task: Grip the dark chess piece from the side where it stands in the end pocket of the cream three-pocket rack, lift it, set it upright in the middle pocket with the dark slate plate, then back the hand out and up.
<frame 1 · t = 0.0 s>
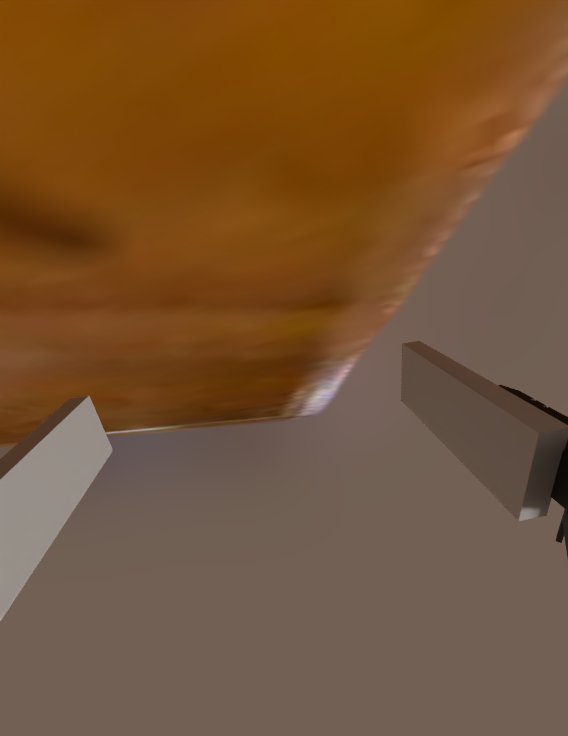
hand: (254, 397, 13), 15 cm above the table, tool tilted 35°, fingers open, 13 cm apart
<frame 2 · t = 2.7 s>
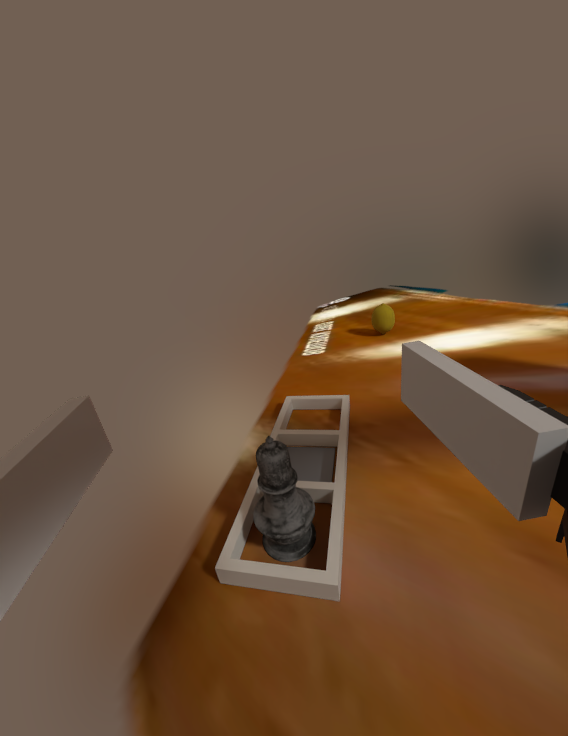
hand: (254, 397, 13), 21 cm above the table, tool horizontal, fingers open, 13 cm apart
lemon: (383, 335, 78), on the table
pocket rack: (304, 467, 38), on the table
dark chess piece: (289, 536, 30), resting in pocket rack
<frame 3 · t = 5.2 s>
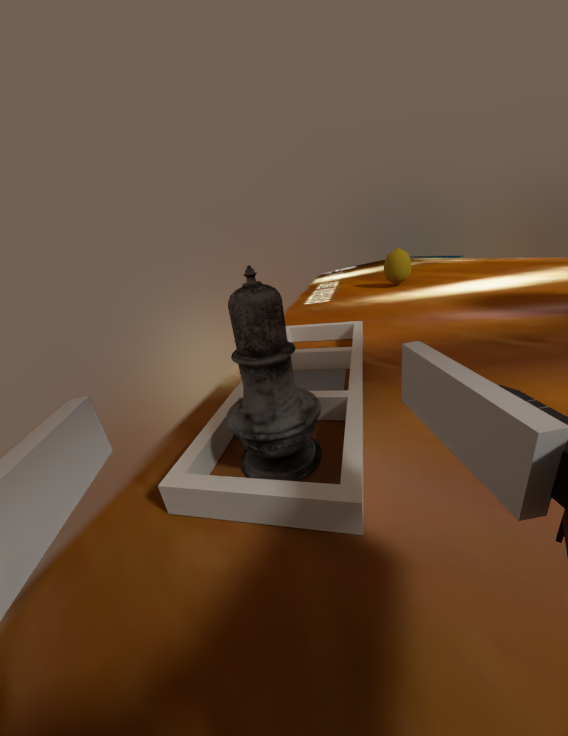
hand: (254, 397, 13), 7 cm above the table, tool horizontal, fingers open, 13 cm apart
lemon: (397, 286, 68), on the table
pocket rack: (305, 388, 28), on the table
dark chess piece: (281, 458, 20), resting in pocket rack
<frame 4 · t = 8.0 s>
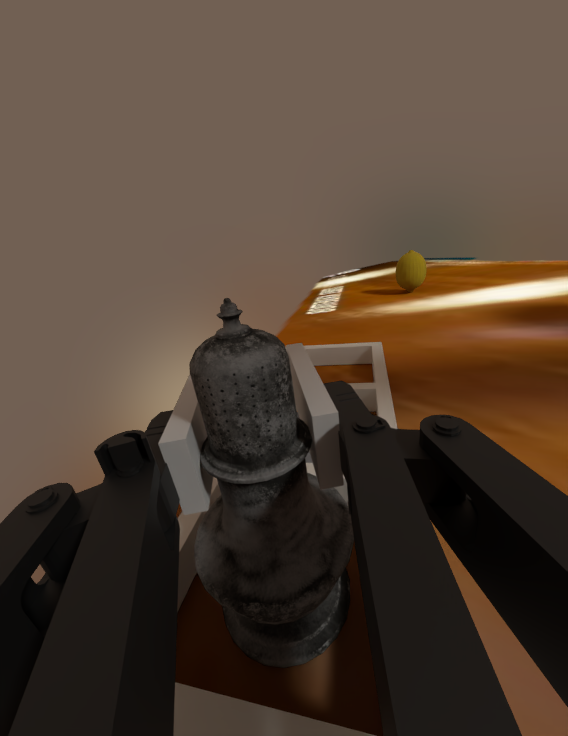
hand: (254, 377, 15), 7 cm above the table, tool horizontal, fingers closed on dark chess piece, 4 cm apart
lemon: (410, 293, 61), on the table
pocket rack: (315, 443, 21), on the table
dark chess piece: (286, 588, 13), resting in pocket rack, touching gripper
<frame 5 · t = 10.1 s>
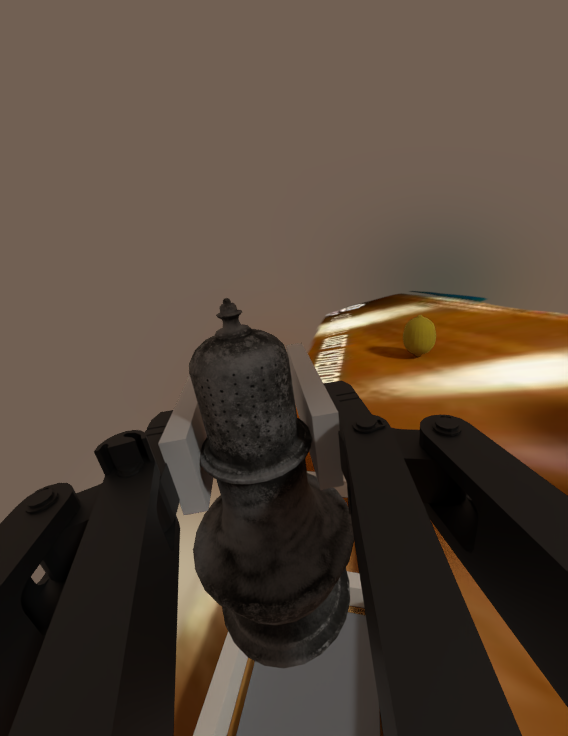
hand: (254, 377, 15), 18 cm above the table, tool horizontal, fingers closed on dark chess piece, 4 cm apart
lemon: (418, 357, 58), on the table
pocket rack: (313, 678, 18), on the table
dark chess piece: (286, 589, 13), point 10 cm above the table, touching gripper
when the fingers open (8 cm above the table, at t = 12.7 s): dark chess piece stays where it is, resting on pocket rack.
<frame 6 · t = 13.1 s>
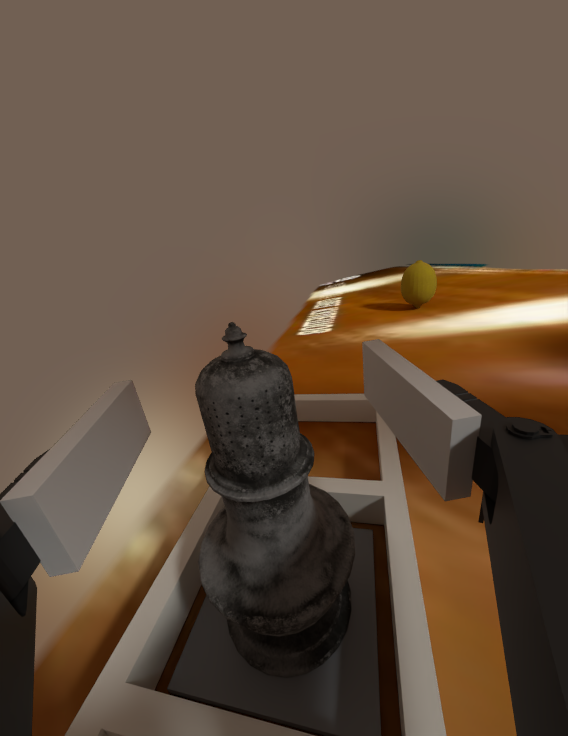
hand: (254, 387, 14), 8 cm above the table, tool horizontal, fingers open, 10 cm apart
lemon: (417, 309, 53), on the table
pocket rack: (288, 599, 13), on the table
dark chess piece: (288, 598, 13), resting on pocket rack
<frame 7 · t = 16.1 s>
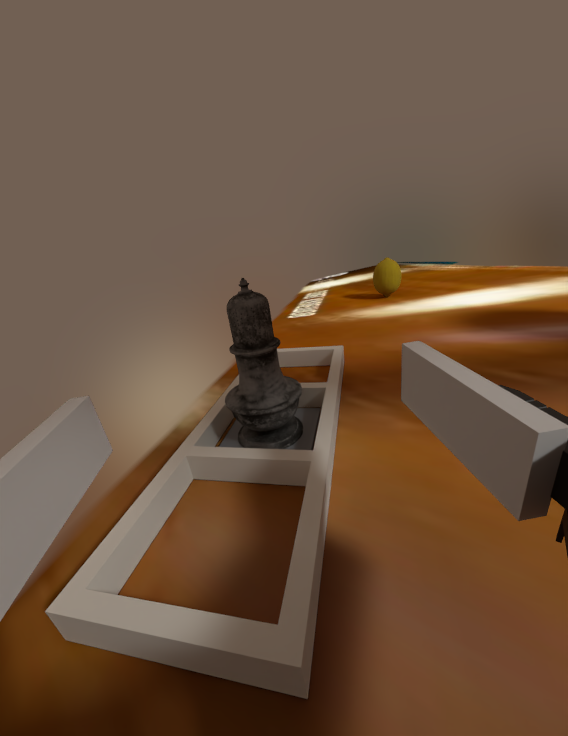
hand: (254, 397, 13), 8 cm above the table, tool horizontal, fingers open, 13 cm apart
lemon: (387, 298, 65), on the table
pocket rack: (270, 434, 25), on the table
dark chess piece: (271, 433, 24), resting on pocket rack
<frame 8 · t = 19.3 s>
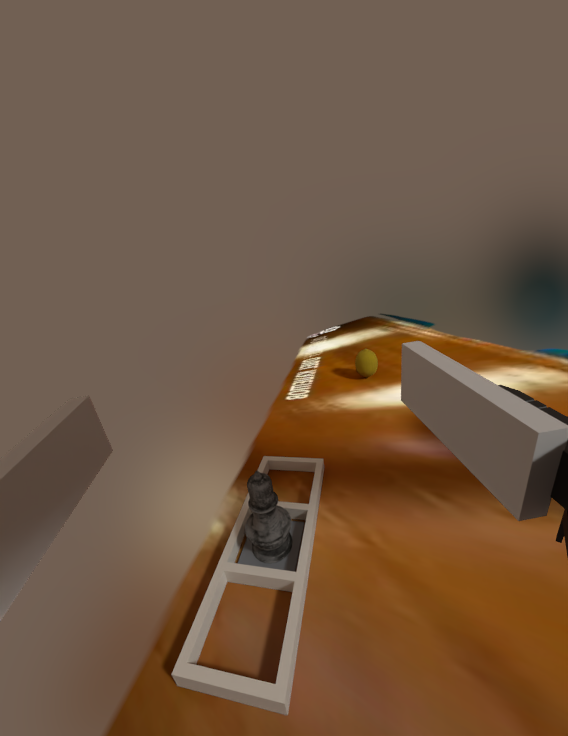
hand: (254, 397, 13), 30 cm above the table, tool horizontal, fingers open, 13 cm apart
lemon: (366, 378, 80), on the table
pocket rack: (272, 545, 39), on the table
dark chess piece: (272, 544, 39), resting on pocket rack
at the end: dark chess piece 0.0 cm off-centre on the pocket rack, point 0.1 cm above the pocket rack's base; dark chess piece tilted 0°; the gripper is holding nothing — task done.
